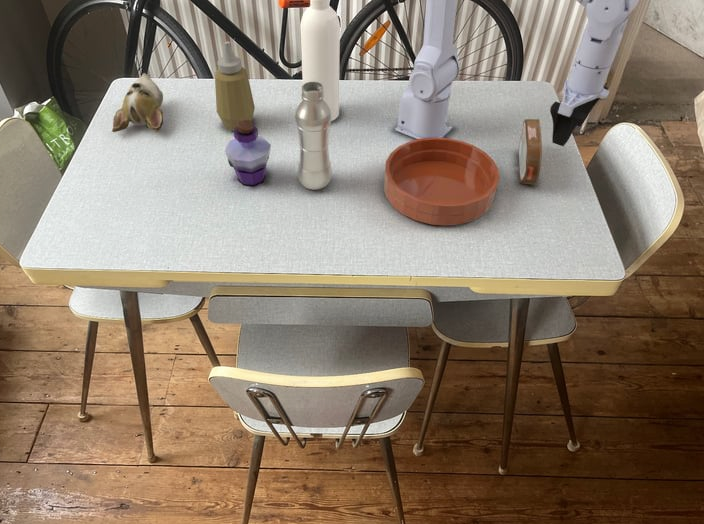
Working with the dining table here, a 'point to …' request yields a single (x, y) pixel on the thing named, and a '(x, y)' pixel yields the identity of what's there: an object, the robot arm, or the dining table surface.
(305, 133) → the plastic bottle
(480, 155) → the bowl
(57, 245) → the dining table surface
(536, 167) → the tin
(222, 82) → the squeeze bottle
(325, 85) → the bottle
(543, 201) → the dining table surface
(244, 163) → the potion bottle
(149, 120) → the ceramic sculpture
